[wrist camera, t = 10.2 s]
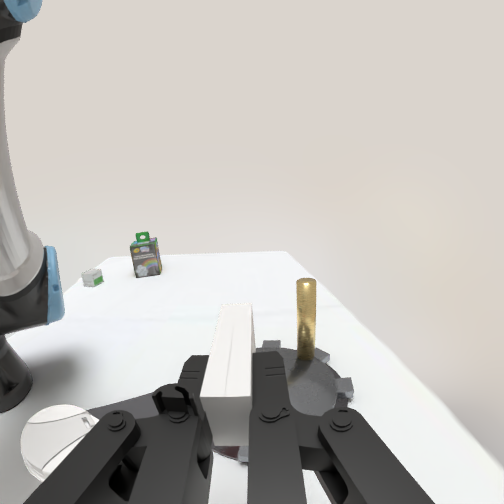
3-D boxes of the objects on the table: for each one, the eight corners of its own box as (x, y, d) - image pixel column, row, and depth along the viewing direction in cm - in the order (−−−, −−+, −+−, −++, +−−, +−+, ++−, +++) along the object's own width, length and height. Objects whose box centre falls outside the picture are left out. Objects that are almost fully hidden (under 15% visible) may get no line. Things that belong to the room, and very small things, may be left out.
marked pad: (88, 412, 28) (85, 409, 28) (161, 392, 34) (159, 389, 34) (101, 476, 18) (98, 473, 18) (193, 449, 24) (192, 446, 24)
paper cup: (139, 475, 19) (82, 387, 16) (184, 520, 14) (123, 450, 11) (86, 502, 14) (7, 418, 10) (124, 553, 9) (26, 492, 5)
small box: (94, 287, 80) (91, 273, 79) (83, 286, 81) (80, 273, 80) (104, 281, 85) (101, 268, 84) (93, 281, 87) (90, 268, 85)
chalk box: (162, 267, 98) (156, 228, 94) (160, 274, 89) (153, 232, 86) (138, 270, 96) (131, 231, 92) (135, 278, 87) (127, 235, 83)
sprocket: (192, 480, 19) (151, 396, 16) (175, 362, 40) (157, 287, 37) (384, 416, 25) (409, 323, 22) (304, 334, 46) (304, 263, 43)
